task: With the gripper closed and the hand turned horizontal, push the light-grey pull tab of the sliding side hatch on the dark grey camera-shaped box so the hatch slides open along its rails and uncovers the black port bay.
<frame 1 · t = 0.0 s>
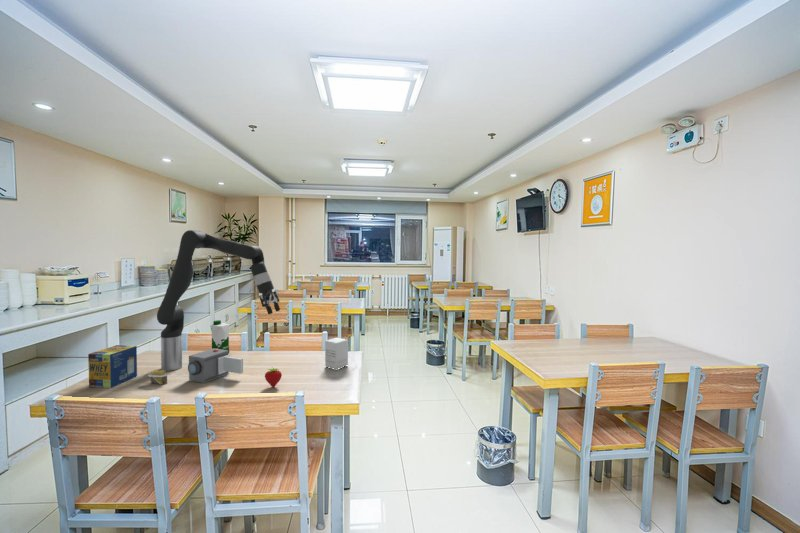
hand: (274, 312, 177), 31 cm above the table, tool tilted 20°, fingers open, 8 cm apart
protein box: (114, 382, 164), on the table
camera body: (209, 376, 171), on the table
milk carton: (220, 354, 210), on the table
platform: (157, 385, 162), on the table
strawberry: (273, 387, 160), on the table
supplement box: (336, 367, 188), on the table
hatch: (232, 365, 170), point 6 cm above the table, slide at 0.0 cm
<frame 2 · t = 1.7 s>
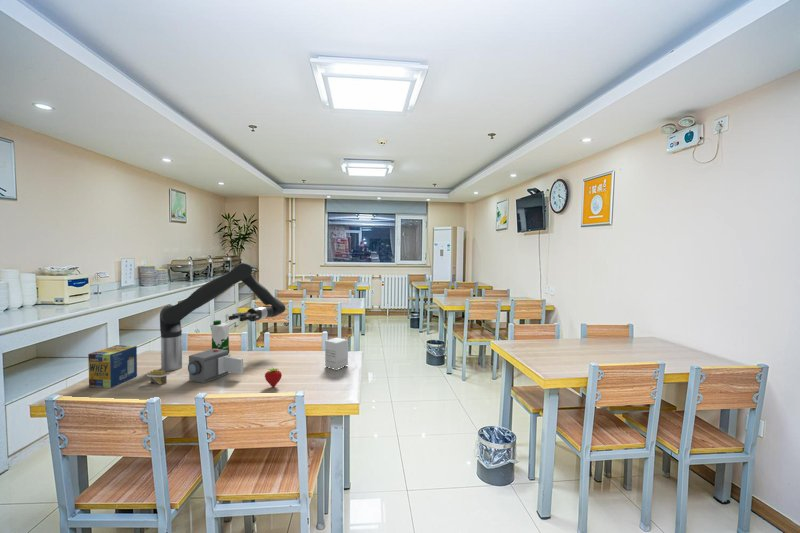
hand: (234, 318, 186), 26 cm above the table, tool horizontal, fingers open, 7 cm apart
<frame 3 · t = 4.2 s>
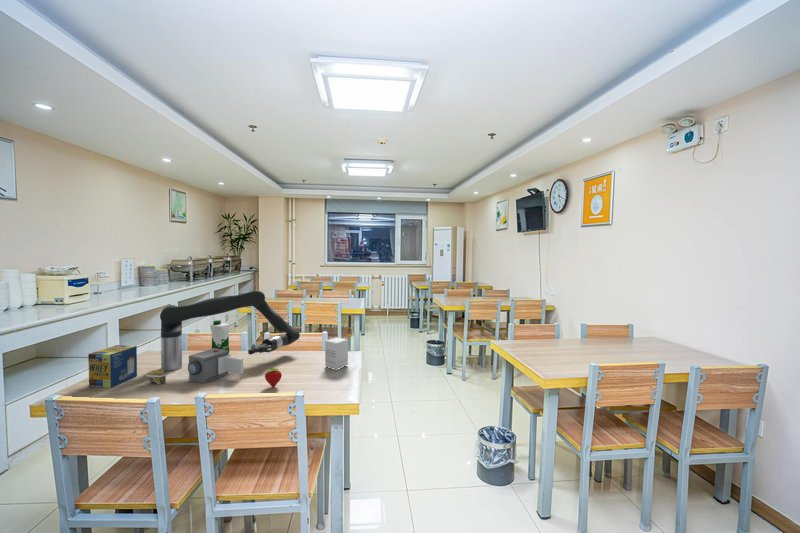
hand: (249, 352, 179), 10 cm above the table, tool horizontal, fingers closed
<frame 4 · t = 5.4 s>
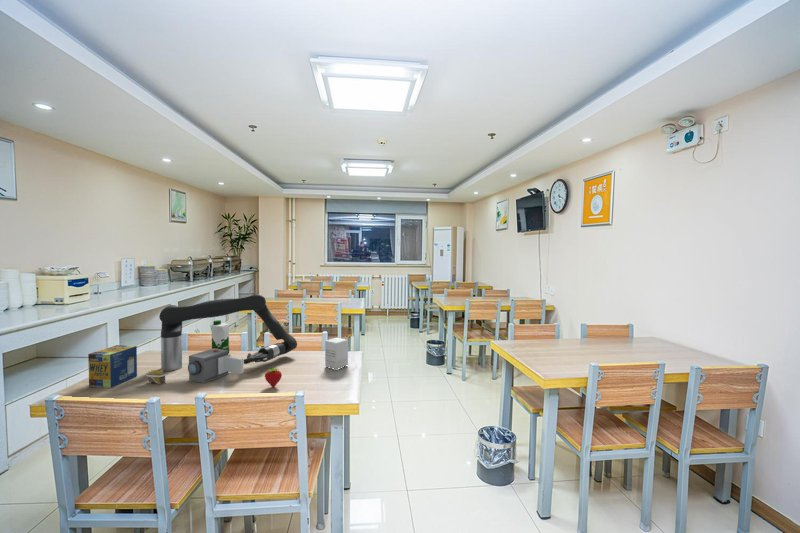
hand: (244, 361, 174), 7 cm above the table, tool horizontal, fingers closed
nothing on the table moved.
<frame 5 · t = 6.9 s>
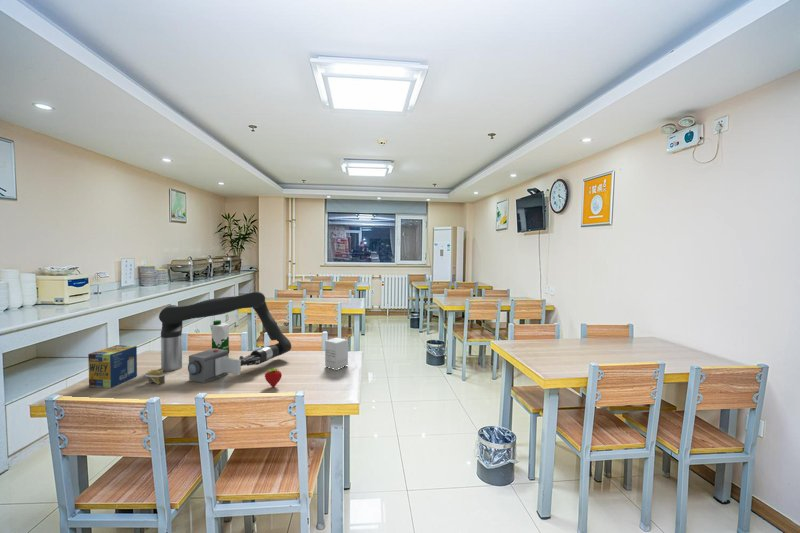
hand: (236, 365, 169), 7 cm above the table, tool horizontal, fingers closed
hatch: (230, 366, 169), point 6 cm above the table, slide at 1.5 cm, touching gripper
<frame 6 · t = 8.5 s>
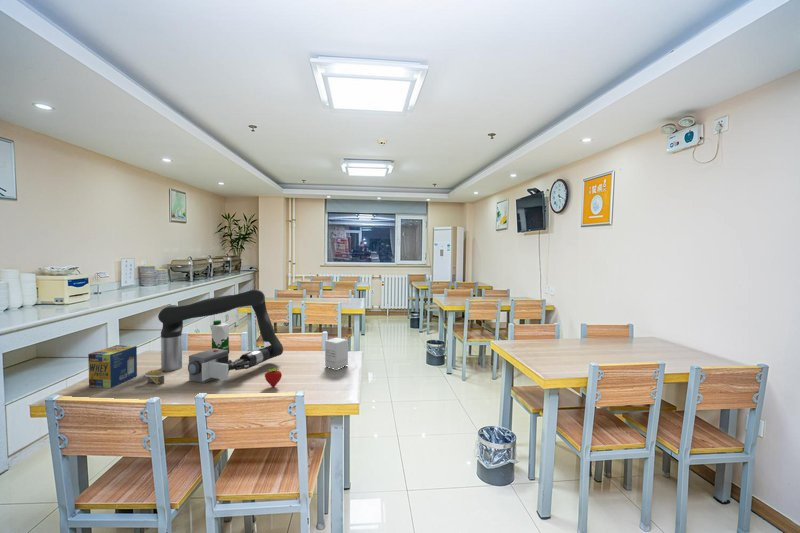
hand: (223, 369, 162), 7 cm above the table, tool horizontal, fingers closed
hatch: (217, 371, 162), point 6 cm above the table, slide at 8.9 cm, touching gripper
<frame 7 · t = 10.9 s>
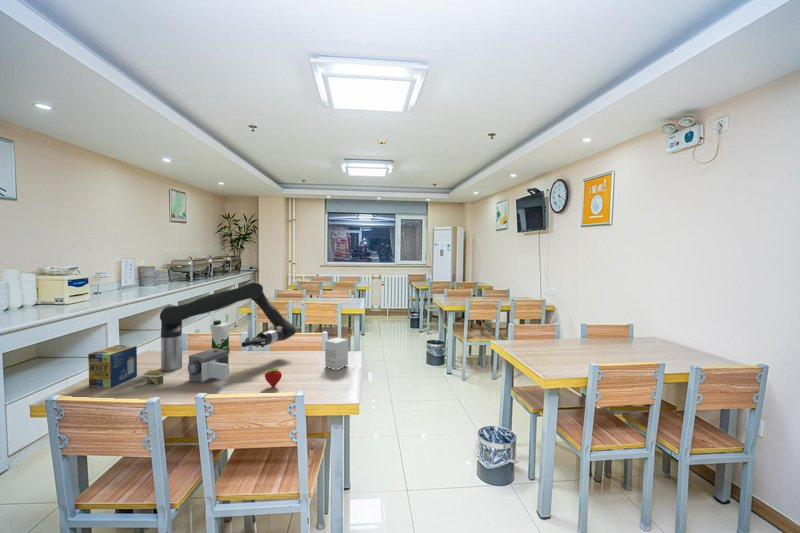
hand: (242, 344, 176), 15 cm above the table, tool horizontal, fingers closed
hatch: (217, 371, 162), point 6 cm above the table, slide at 9.0 cm
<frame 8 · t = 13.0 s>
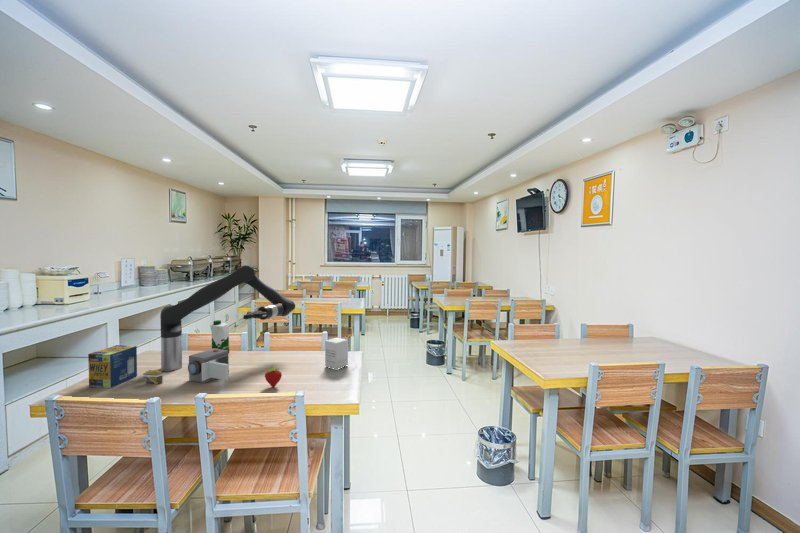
hand: (244, 317, 181), 28 cm above the table, tool horizontal, fingers closed
at the end: hatch slide at 9.0 cm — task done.
